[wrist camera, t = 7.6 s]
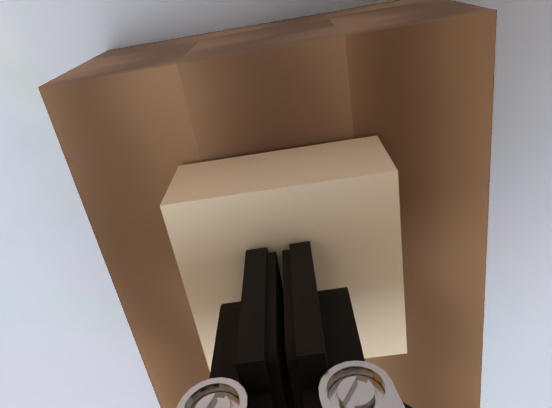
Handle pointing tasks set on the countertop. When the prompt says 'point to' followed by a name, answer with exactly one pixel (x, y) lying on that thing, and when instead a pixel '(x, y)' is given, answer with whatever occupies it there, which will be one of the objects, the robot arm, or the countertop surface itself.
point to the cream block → (294, 230)
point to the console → (292, 134)
